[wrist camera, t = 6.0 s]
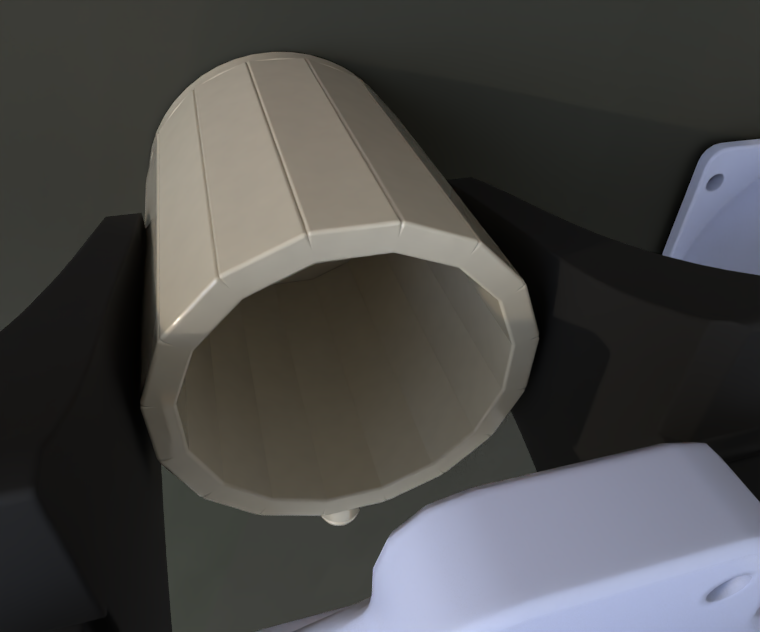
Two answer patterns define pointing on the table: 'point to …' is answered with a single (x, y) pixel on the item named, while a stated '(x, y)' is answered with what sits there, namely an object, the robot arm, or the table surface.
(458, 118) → the table surface
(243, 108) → the cream cup
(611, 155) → the table surface
